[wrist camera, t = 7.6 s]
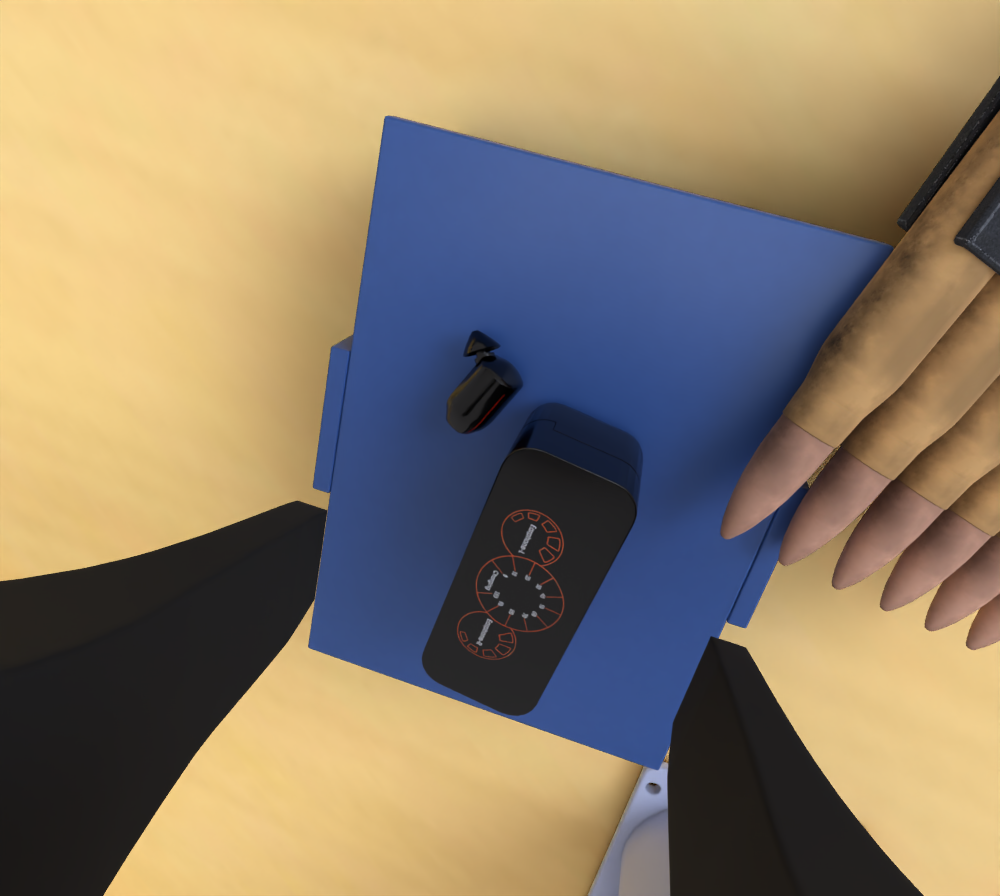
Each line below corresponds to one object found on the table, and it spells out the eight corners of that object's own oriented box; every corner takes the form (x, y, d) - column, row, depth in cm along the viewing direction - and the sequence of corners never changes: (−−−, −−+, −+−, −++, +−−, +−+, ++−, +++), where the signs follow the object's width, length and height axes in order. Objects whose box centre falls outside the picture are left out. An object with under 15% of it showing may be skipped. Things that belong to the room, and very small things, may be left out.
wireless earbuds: (669, 405, 16) (667, 462, 13) (549, 636, 19) (526, 725, 16) (479, 322, 16) (435, 359, 13) (390, 563, 19) (339, 637, 17)
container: (677, 670, 24) (676, 778, 20) (354, 562, 25) (291, 642, 21) (866, 229, 18) (922, 254, 14) (429, 117, 19) (361, 108, 15)
